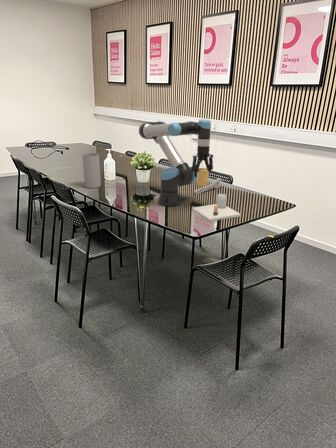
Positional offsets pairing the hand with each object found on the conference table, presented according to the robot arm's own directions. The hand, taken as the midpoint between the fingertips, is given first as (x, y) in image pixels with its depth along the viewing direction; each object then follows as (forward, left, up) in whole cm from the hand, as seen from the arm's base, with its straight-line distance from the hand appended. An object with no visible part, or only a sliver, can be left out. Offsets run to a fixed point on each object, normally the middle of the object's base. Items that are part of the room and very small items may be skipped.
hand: (201, 181), depth 219 cm
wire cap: (0, 0, -2) cm, 2 cm away
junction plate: (+16, +2, -17) cm, 23 cm away
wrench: (-28, +23, -17) cm, 40 cm away
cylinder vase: (-73, -56, -17) cm, 94 cm away
